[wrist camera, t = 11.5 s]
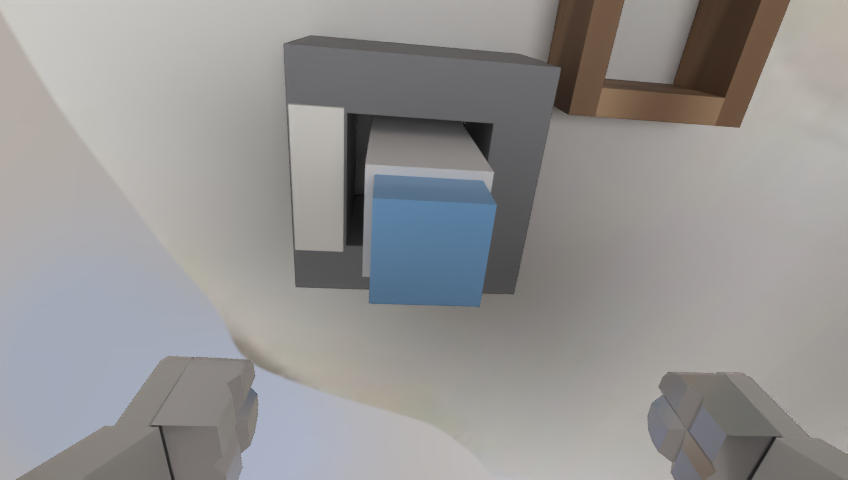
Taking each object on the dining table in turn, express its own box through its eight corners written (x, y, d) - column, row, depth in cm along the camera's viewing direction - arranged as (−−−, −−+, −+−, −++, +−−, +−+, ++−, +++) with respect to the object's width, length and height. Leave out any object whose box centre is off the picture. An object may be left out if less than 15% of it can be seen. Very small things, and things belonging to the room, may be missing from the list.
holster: (748, -72, 20) (825, -89, 17) (687, 110, 24) (739, 127, 20) (578, -93, 19) (620, -116, 16) (540, 98, 23) (568, 114, 19)
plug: (453, 109, 23) (509, 194, 12) (444, 184, 25) (487, 315, 14) (374, 104, 23) (361, 186, 12) (371, 179, 24) (358, 311, 14)
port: (519, 54, 22) (563, 68, 16) (488, 237, 26) (515, 296, 21) (310, 35, 21) (282, 44, 15) (315, 229, 25) (294, 289, 20)
